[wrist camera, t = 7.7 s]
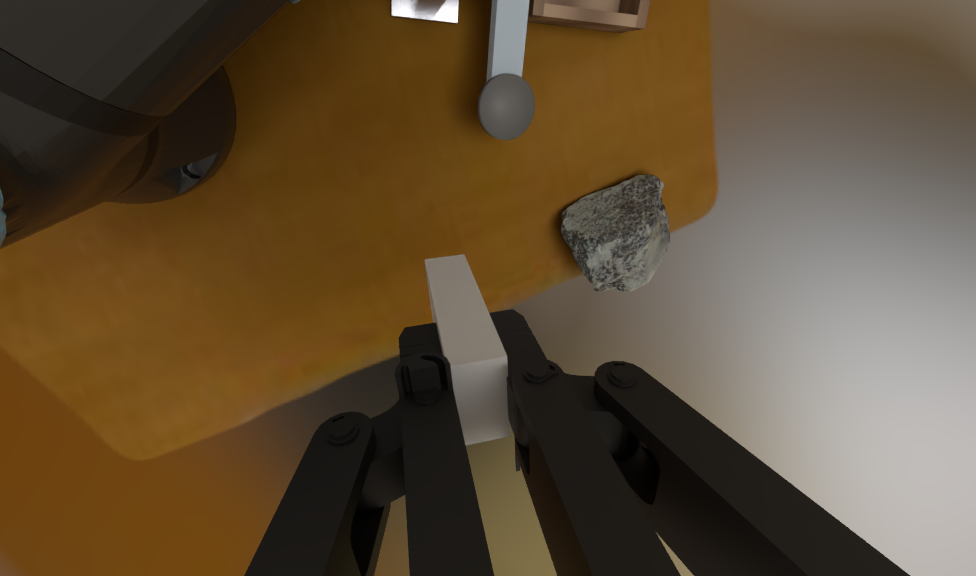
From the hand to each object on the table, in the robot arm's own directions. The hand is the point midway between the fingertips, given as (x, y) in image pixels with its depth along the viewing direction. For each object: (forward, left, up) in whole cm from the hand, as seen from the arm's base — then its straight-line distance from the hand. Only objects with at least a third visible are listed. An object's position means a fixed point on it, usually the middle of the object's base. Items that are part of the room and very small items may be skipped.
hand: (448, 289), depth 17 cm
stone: (+19, -5, -25) cm, 31 cm away
